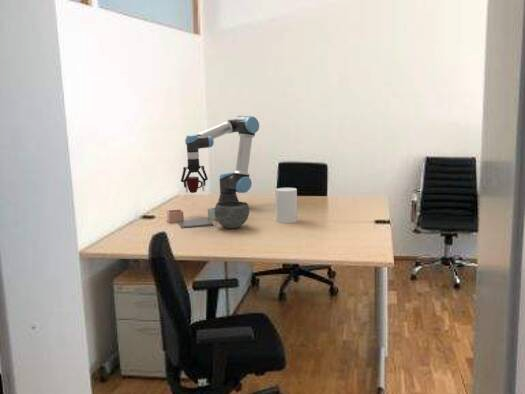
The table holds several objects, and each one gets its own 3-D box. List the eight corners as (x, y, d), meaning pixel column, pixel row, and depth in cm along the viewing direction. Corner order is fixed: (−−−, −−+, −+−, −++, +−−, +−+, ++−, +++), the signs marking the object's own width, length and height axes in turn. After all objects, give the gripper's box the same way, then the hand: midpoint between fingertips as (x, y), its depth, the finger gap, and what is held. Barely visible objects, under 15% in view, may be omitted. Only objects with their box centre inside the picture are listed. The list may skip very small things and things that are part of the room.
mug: (199, 190, 392) (198, 175, 391) (204, 191, 386) (204, 177, 384) (185, 192, 387) (184, 177, 385) (190, 193, 380) (189, 178, 378)
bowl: (242, 232, 339) (241, 207, 336) (209, 230, 346) (208, 205, 344) (254, 224, 358) (254, 200, 356) (223, 222, 366) (222, 199, 363)
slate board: (207, 220, 373) (207, 218, 373) (213, 225, 358) (213, 223, 358) (176, 223, 367) (176, 221, 367) (181, 228, 352) (181, 226, 352)
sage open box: (218, 217, 381) (218, 207, 379) (225, 219, 374) (225, 208, 373) (208, 219, 376) (207, 208, 375) (215, 221, 370) (214, 210, 368)
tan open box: (181, 219, 377) (180, 209, 375) (183, 222, 368) (183, 211, 367) (167, 221, 374) (166, 210, 373) (169, 223, 365) (169, 213, 364)
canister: (283, 217, 376) (282, 187, 373) (301, 219, 369) (300, 188, 365) (271, 221, 366) (270, 190, 362) (289, 223, 358) (289, 191, 354)
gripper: (209, 156, 389) (210, 189, 393) (174, 159, 382) (176, 192, 386) (211, 157, 382) (213, 190, 386) (176, 160, 375) (178, 193, 379)
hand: (195, 191), depth 386 cm, fingers closed on mug, 10 cm apart
